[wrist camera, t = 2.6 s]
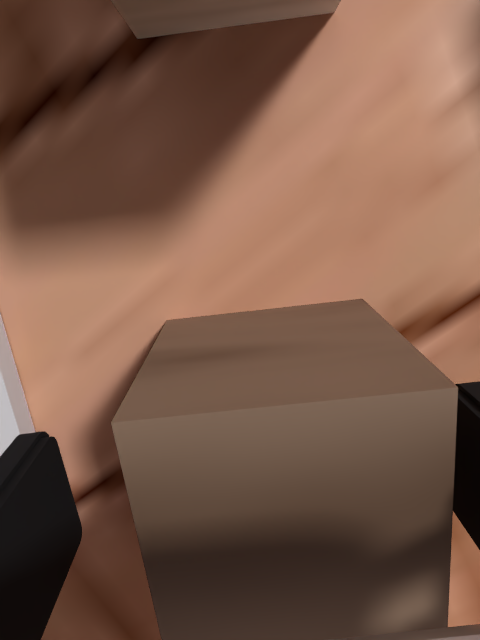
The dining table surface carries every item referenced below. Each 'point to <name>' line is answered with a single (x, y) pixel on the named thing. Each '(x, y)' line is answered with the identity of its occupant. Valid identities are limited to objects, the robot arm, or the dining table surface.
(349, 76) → the dining table surface
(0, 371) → the board
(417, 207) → the dining table surface
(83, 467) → the dining table surface
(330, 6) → the ash pillar
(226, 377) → the walnut cube
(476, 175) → the dining table surface
